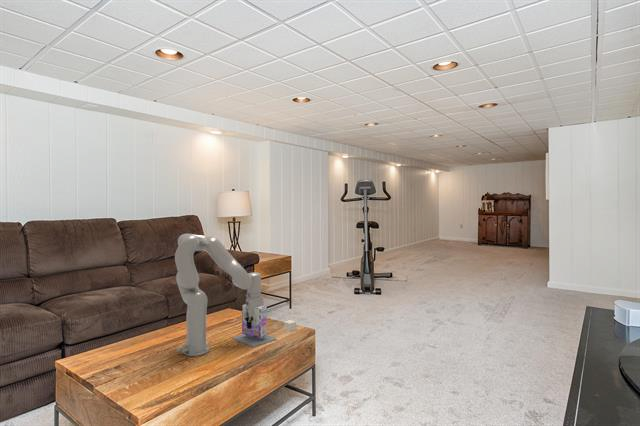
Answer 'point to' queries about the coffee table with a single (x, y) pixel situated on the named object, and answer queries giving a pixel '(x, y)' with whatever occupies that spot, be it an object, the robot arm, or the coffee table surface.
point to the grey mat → (253, 340)
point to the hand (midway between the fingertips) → (254, 326)
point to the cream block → (290, 325)
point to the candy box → (256, 322)
